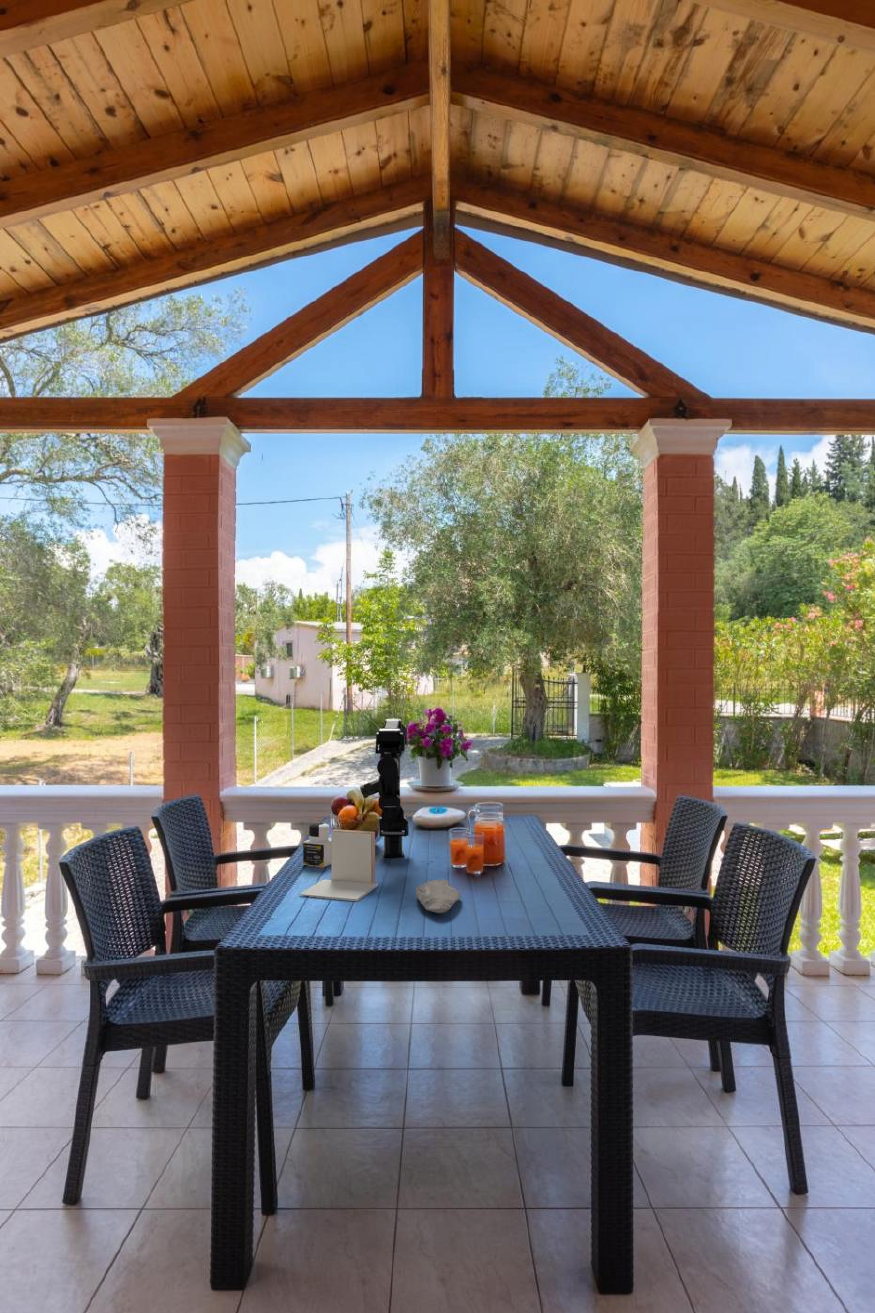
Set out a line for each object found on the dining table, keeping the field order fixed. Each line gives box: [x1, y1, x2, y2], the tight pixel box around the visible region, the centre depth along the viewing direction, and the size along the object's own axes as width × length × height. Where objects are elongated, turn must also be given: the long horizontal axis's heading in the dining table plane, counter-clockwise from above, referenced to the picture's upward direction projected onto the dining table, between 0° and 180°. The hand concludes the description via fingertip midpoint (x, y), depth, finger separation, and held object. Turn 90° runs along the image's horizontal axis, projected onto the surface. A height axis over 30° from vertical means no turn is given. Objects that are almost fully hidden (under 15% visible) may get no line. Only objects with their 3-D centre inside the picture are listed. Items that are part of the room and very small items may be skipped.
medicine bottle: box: [302, 822, 331, 868], centre depth 247 cm, size 7×7×12 cm
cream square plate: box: [299, 879, 379, 903], centre depth 217 cm, size 15×16×1 cm
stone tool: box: [415, 879, 461, 915], centre depth 205 cm, size 12×5×25 cm
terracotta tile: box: [330, 828, 376, 884], centre depth 226 cm, size 2×12×14 cm, turn 73°
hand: (389, 825), depth 240 cm, fingers open, 9 cm apart
